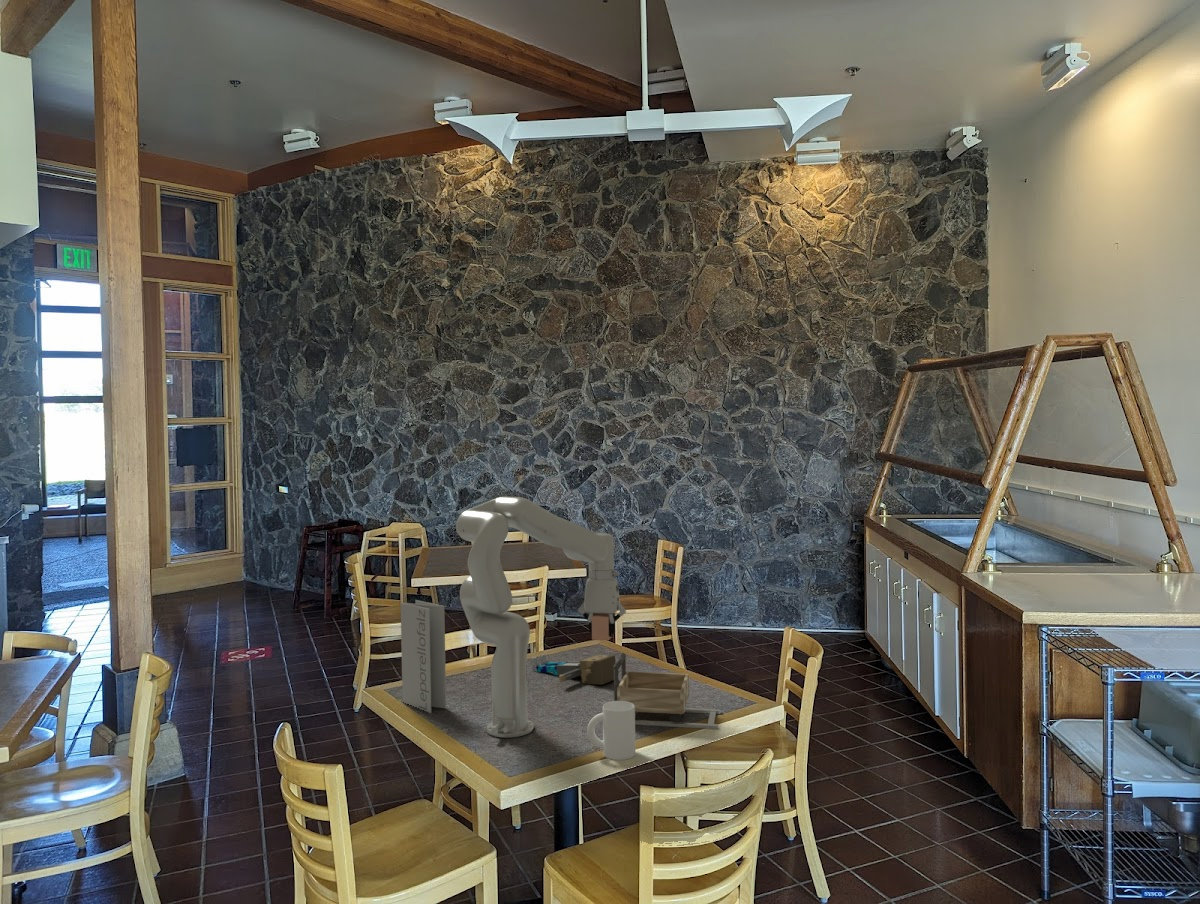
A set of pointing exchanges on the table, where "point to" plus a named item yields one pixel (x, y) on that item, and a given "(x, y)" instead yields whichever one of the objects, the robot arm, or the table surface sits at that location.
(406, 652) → the brochure
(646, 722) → the rails
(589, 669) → the toy
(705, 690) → the table surface
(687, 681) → the cart
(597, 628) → the block
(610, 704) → the mug
